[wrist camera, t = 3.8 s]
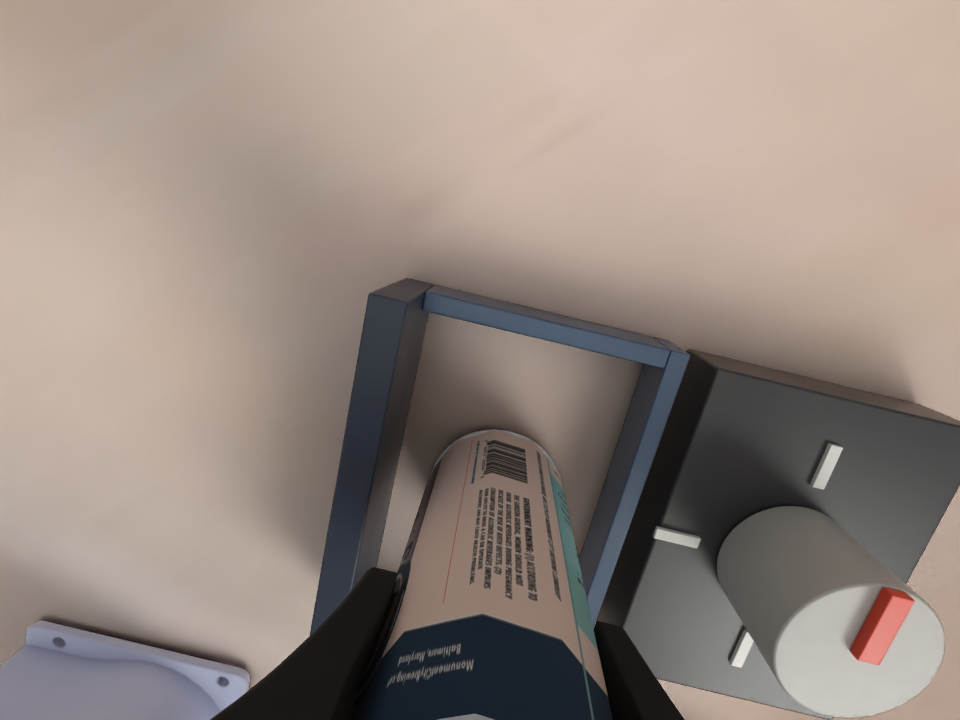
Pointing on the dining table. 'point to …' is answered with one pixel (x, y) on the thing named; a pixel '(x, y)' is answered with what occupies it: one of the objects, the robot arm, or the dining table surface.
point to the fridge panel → (767, 506)
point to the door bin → (385, 407)
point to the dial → (828, 614)
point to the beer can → (488, 598)
